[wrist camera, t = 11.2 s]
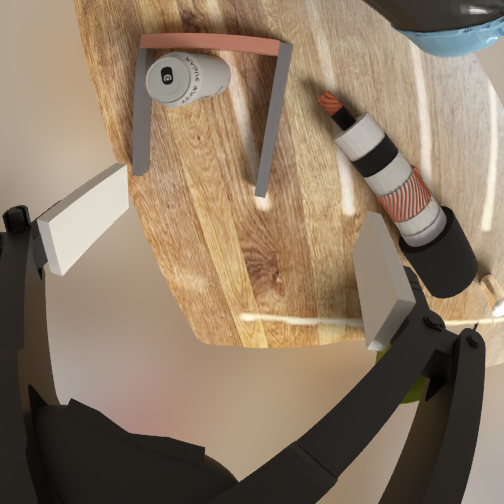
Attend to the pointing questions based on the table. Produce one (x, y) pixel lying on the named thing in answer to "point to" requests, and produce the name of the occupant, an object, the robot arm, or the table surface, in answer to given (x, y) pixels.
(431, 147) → the table surface
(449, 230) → the cable
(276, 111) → the guide lane
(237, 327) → the table surface
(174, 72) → the energy drink can
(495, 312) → the milkshake
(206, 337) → the table surface
